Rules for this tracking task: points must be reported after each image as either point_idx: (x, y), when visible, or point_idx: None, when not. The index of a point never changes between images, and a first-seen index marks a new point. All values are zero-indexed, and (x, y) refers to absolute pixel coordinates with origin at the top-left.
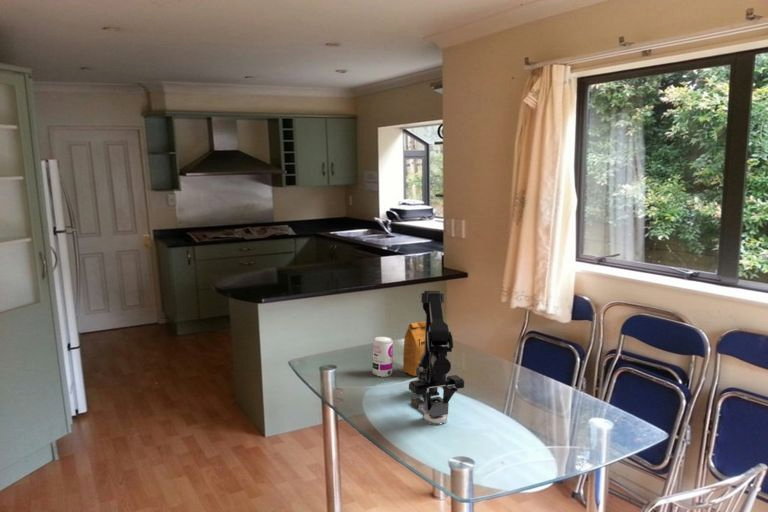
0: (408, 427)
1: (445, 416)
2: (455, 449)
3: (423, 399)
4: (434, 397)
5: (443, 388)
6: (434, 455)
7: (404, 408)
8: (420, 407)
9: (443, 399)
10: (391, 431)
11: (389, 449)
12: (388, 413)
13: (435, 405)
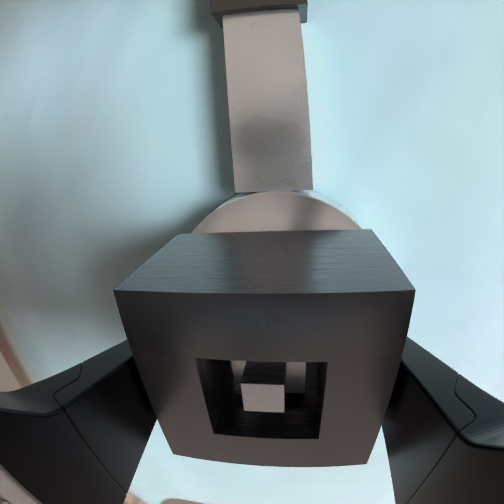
0: (77, 310)
1: None
2: (228, 493)
3: (75, 373)
4: (303, 297)
5: (488, 467)
6: (150, 481)
7: (129, 16)
8: (227, 61)
9: (386, 396)
10: (18, 310)
11: None
12: (23, 95)
13: (203, 457)
